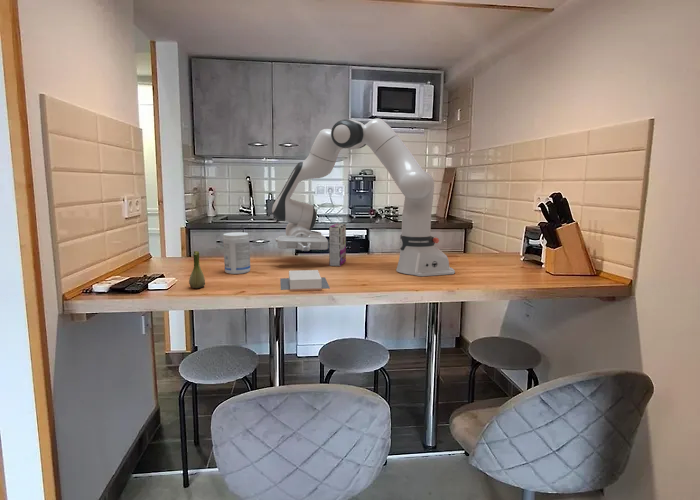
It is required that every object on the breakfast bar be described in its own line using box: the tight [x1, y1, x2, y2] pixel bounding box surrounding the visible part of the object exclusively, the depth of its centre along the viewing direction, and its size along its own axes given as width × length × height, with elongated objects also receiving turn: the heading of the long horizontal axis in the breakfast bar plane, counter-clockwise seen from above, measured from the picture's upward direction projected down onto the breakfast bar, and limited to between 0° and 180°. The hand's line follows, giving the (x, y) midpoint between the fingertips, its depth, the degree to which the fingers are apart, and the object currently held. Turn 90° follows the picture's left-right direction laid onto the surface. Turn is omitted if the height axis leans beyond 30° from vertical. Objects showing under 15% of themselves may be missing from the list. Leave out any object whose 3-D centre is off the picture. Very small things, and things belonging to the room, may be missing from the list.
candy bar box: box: [328, 223, 347, 267], centre depth 190 cm, size 11×5×16 cm, turn 168°
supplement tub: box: [222, 231, 251, 275], centre depth 173 cm, size 10×10×15 cm
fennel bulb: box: [188, 251, 206, 289], centre depth 149 cm, size 6×5×12 cm
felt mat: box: [279, 276, 331, 291], centre depth 156 cm, size 16×16×1 cm
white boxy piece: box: [288, 269, 323, 292], centre depth 153 cm, size 10×4×14 cm
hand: (306, 248), depth 175 cm, fingers closed
